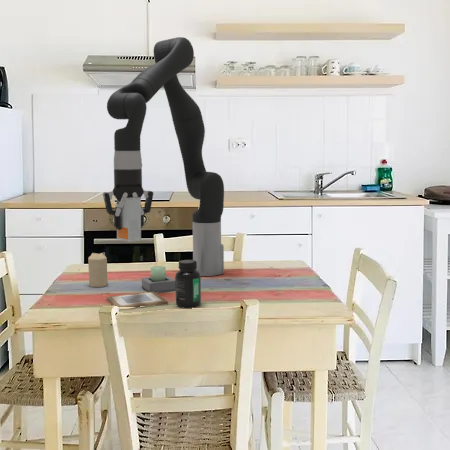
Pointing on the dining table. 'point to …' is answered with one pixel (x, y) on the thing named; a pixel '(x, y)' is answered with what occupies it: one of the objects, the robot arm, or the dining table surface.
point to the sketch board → (137, 300)
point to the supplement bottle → (188, 284)
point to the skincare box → (130, 220)
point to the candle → (97, 270)
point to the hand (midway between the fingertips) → (128, 228)
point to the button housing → (158, 285)
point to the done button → (158, 273)
